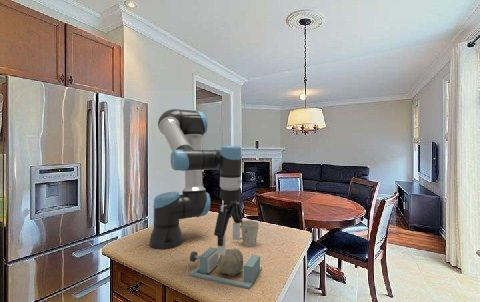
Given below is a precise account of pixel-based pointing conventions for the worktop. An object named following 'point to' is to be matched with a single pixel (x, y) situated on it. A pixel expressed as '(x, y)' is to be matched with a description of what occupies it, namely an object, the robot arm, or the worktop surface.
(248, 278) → the vise
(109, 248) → the worktop surface
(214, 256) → the jaw
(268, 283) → the worktop surface
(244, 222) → the mug
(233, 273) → the garlic bulb
